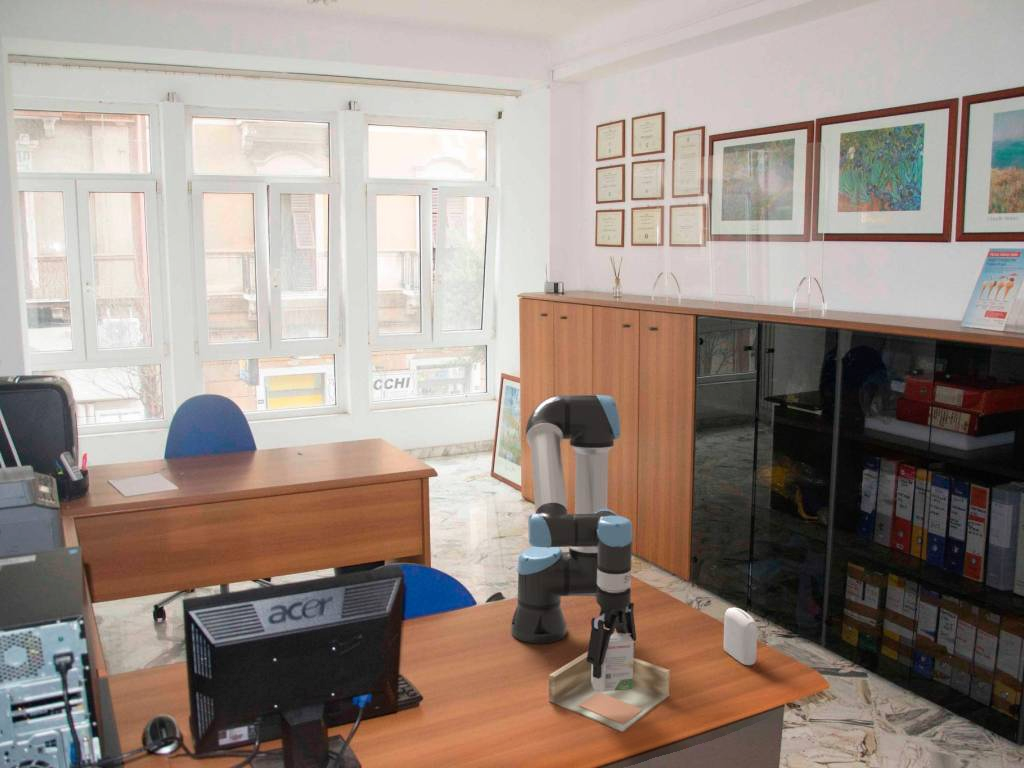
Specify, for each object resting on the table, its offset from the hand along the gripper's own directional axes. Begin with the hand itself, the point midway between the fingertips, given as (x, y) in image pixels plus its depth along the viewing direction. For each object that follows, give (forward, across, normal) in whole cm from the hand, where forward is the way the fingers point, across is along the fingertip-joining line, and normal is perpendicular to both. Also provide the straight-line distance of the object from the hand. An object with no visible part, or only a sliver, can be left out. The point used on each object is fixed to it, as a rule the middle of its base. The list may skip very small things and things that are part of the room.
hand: (611, 681), depth 197 cm
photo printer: (+7, +43, -11) cm, 45 cm away
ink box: (+1, 0, 0) cm, 1 cm away
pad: (+7, 0, 0) cm, 7 cm away
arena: (+7, +4, +3) cm, 9 cm away
